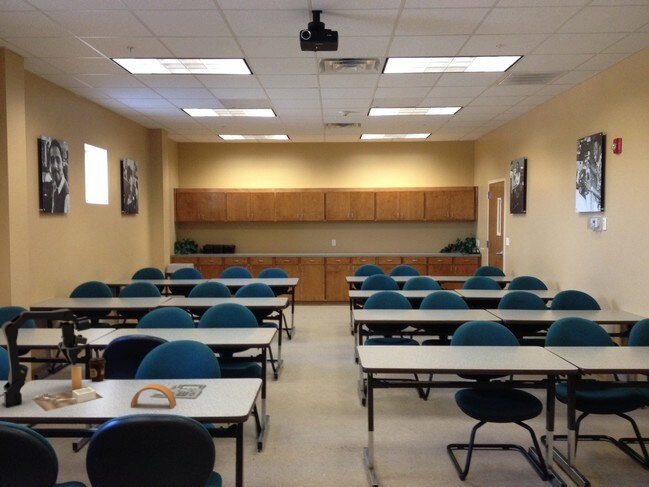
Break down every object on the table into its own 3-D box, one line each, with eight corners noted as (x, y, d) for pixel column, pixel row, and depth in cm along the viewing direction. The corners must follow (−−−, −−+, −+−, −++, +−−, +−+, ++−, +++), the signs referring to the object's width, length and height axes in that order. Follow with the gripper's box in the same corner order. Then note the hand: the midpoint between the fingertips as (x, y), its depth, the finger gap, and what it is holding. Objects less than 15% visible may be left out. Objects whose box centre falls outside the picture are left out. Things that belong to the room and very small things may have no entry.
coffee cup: (93, 385, 276) (93, 361, 275) (85, 382, 281) (85, 359, 280) (109, 381, 283) (108, 358, 282) (100, 378, 288) (100, 355, 287)
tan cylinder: (73, 394, 260) (73, 369, 259) (70, 391, 263) (70, 367, 262) (83, 391, 263) (82, 367, 262) (80, 389, 266) (79, 365, 265)
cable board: (45, 413, 237) (45, 405, 237) (31, 401, 253) (31, 394, 252) (103, 399, 255) (103, 392, 255) (87, 388, 271) (86, 382, 270)
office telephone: (149, 393, 258) (165, 381, 278) (149, 398, 258) (166, 385, 278) (195, 394, 255) (208, 381, 275) (195, 400, 255) (208, 386, 275)
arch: (135, 403, 250) (135, 383, 249) (176, 404, 249) (175, 383, 248) (130, 407, 244) (130, 387, 243) (172, 408, 243) (171, 387, 242)
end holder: (78, 403, 247) (78, 394, 247) (72, 398, 253) (72, 390, 253) (95, 398, 253) (95, 390, 252) (89, 394, 259) (89, 387, 258)
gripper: (90, 333, 263) (93, 362, 264) (78, 327, 276) (81, 355, 278) (67, 338, 255) (70, 368, 257) (56, 331, 269) (59, 361, 270)
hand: (71, 363), depth 266 cm, fingers open, 9 cm apart
